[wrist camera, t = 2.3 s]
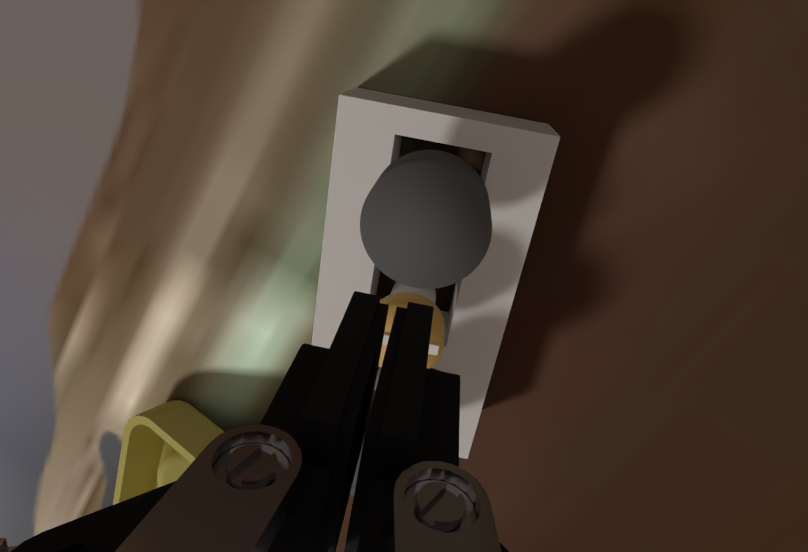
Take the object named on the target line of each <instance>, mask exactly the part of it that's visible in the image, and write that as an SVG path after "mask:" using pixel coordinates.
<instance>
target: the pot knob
mask: <svg viewBox="0 0 808 552" xmlns="http://www.w3.org/2000/svg"><path fill="white" fill-rule="evenodd" d="M408 302H413V303H418V304H423V305H428V306H433V307H434V310H433V318H432V327H431V335H430V343H429V352H428V360H427V368H428V369H430V368H431V367H432V366H434V365H435V363H436V362H437V361H438V360H439V358H440V356H441V354H442V351H443V344H444V332H445V323H444V318H443V315H442V313H441V311H440V310H439V308H438V307H437V306H436V305H435V302H436V291H435V289H420V288H413V287H409V286H406V285H403V284H401V283H398V282H396V283H395V284H394V286H393V288H392V291H391V294H390V295H388V296H386V297H384V298H383V299H381V300H380V303H383V304H388V305H389V308H388V314H387V320H386V326H385V331H384V337H383V343H382V348H381V354H380V360H379V365H378V366H379V367H380V368H381V367H382V363H383V359H384V355H385V351H386V348H387V344H388V340H389V336H390V332H391V328H392V324H393V320H394V316H395V312H396V308H397V306H398V307H403V308H407V306H408Z"/></svg>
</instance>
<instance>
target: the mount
mask: <svg viewBox="0 0 808 552" xmlns="http://www.w3.org/2000/svg"><path fill="white" fill-rule="evenodd" d="M402 136H406V137H411V138H417V139H422V140H427V141H432V142H437V143H443V144H448V145H453V146H458V147H463V148H469V149H474V150H479V151H484V152H486V155H485V159H484V163H483V168H482V172H481V176H480V177H481V179H482V180H483V182H484V184H485V186H486V189H487V192H488V196H489V202H490V210H491V218H492V236H491V242H490V245H489V248H488V251H487V253H486V255H485V257H484V258H483V260H482V261H481V263H480V264H479V265H478V267H477V268H476V269H475V270H474V271H473V272H472V273H470V274H469V275H468V276H467V277H465V278H464V279H462V280H460V281H458V282H456V283H455V288H454V292H453V296H452V301H451V305H450V309H449V312H445V311H441V313H442V315H443V318H444V323H445V332H444V344H443V351H442V354H441V356H440V358H439V360H438V361H437V362H436V363H435V365H434V366H432V367H431V368H433V369H435V370H437V371H442V372H447V373H452V374H457V375H460V422H459V457H461V458H465V459H468V455H469V452H470V448H471V445H472V441H473V438H474V434H475V431H476V427H477V424H478V421H479V417H480V414H481V410H482V407H483V403H484V400H485V396H486V393H487V389H488V386H489V382H490V379H491V376H492V372H493V369H494V365H495V362H496V358H497V355H498V351H499V348H500V344H501V341H502V337H503V334H504V331H505V327H506V324H507V320H508V317H509V313H510V310H511V306H512V303H513V299H514V296H515V292H516V289H517V286H518V282H519V279H520V275H521V272H522V268H523V265H524V261H525V258H526V254H527V251H528V247H529V244H530V241H531V237H532V234H533V230H534V227H535V223H536V220H537V216H538V213H539V209H540V206H541V202H542V199H543V196H544V192H545V189H546V185H547V182H548V178H549V175H550V171H551V168H552V164H553V161H554V158H555V154H556V151H557V147H558V144H559V140H560V136H559V135H558V134H557V133H556V131H555V130H554V129H553V128H552V127H551V126H550V125H549V124H547V123H542V122H536V121H531V120H526V119H521V118H515V117H510V116H505V115H500V114H494V113H489V112H484V111H479V110H473V109H468V108H463V107H457V106H452V105H447V104H442V103H436V102H431V101H426V100H421V99H415V98H410V97H405V96H400V95H394V94H389V93H384V92H379V91H373V90H368V89H363V88H357V87H356V88H354V89H351V90H349V91H347V92H344V93H342V94H339V100H338V109H337V119H336V128H335V137H334V146H333V155H332V164H331V173H330V182H329V191H328V200H327V209H326V218H325V228H324V237H323V246H322V255H321V264H320V273H319V282H318V291H317V300H316V309H315V318H314V327H313V337H312V345H314V346H319V347H324V348H329V349H330V346H331V344H332V342H333V339H334V337H335V335H336V332H337V330H338V328H339V325H340V323H341V321H342V319H343V316H344V314H345V312H346V309H347V307H348V305H349V302H350V300H351V298H352V295H353V293H354V291H357V292H362V293H367V294H372V295H376V294H377V288H378V282H379V276H380V270H379V269H378V268H377V267H376V265H375V264H374V263H373V262H372V260H371V259H370V257H369V256H368V254H367V252H366V250H365V248H364V245H363V242H362V238H361V233H360V216H361V211H362V207H363V204H364V202H365V199H366V197H367V196H368V194H369V192H370V190H371V189H372V187H373V186H374V184H375V183H376V181H377V180H378V178H379V177H380V175H381V174H382V173H383V171H384V170H385V169H386V168H387V167H388V166H389V165H390V164H391V163H393V162H394V161H395V160H397V159H398V158H399V154H400V148H401V142H402ZM381 299H382V298H380V300H381Z"/></svg>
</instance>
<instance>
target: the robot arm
mask: <svg viewBox="0 0 808 552" xmlns="http://www.w3.org/2000/svg"><path fill="white" fill-rule="evenodd" d="M388 308H389V305H388V304H383V303H380V296H377V295H372V294H367V293H362V292H357V291H354V293H353V295H352V298H351V300H350V302H349V305H348V307H347V309H346V312H345V314H344V316H343V319H342V321H341V323H340V325H339V328H338V330H337V332H336V335H335V337H334V339H333V342H332V344H331V346H330V349H329V348H324V347H319V346H314V345H309V344H303V345H302V346H301V348H300V349H299V351H298V353H297V355H296V357H295V359H294V361H293V362H292V364H291V366H290V368H289V370H288V372H287V374H286V376H285V378H284V380H283V382H282V383H281V385H280V387H279V389H278V391H277V393H276V395H275V397H274V399H273V401H272V403H271V404H270V406H269V408H268V410H267V412H266V414H265V416H264V418H263V420H262V422H261V423H260V425H244V426H240V427H235V428H232V429H230V430H228V431H226V432H224V433H222V434H220V435H218V436H217V437H216V438H215V439H214V440H212V441H211V442H210V443H209V444H208V445H207V446H206V447H205V448H204V450H203V451H202V452H201V453H200V454H199V455H198V457H197V458H196V459H195V460H194V461H193V462H192V463H191V465H190V466H189V467H188V468H187V469H186V470H185V472H184V473H183V474H182V475H181V476H180V477H179V478H178V480H177V481H174V482H172V483H169V484H166V485H164V486H161V487H159V488H156V489H153V490H151V491H148V492H146V493H143V494H140V495H138V496H135V497H133V498H130V499H128V500H125V501H122V502H120V503H117V504H115V505H112V506H109V507H107V508H104V509H102V510H99V511H96V512H94V513H91V514H89V515H86V516H83V517H81V518H78V519H76V520H73V521H70V522H68V523H65V524H63V525H60V526H57V527H55V528H52V529H50V530H47V531H44V532H42V533H40V534H38V535H36V536H34V537H32V538H30V539H28V540H26V541H24V542H23V543H21V544H20V545H19V546H11V547H8V546H7V542H6V539H5V538H0V552H335V551H336V547H337V543H338V539H339V535H340V531H341V527H342V523H343V519H344V515H345V511H346V507H347V503H348V499H349V495H350V491H351V487H352V483H353V480H354V476H355V472H356V468H357V464H358V460H359V456H360V452H361V448H362V453H361V459H360V465H359V470H358V476H357V482H356V488H355V493H354V499H353V505H352V511H351V516H350V522H349V528H348V533H347V539H346V545H345V551H344V552H508V551H507V549H506V548H505V547H504V546H503V545H502V544H501V543H500V542H499V538H498V534H497V529H496V525H495V521H494V516H493V512H492V507H491V503H490V500H489V498H488V495H487V493H486V490H485V489H484V488H483V486H482V485H481V484H480V483H479V481H478V480H477V479H476V478H475V477H473V476H472V475H471V474H470V473H468V472H467V471H466V470H464V469H462V468H460V467H459V422H460V375H457V374H452V373H447V372H442V371H437V370H433V369H428V368H427V360H428V352H429V343H430V335H431V327H432V318H433V310H434V307H433V306H428V305H423V304H418V303H413V302H408V306H407V308H403V307H398V306H397V308H396V312H395V316H394V320H393V324H392V328H391V332H390V336H389V340H388V344H387V348H386V351H385V355H384V359H383V363H382V367H381V371H380V375H379V379H378V383H377V387H376V391H375V395H374V399H373V394H374V388H375V382H376V377H377V371H378V365H379V360H380V354H381V348H382V343H383V337H384V331H385V326H386V320H387V314H388ZM372 399H373V403H372ZM371 405H372V407H371ZM370 410H371V411H370ZM364 436H365V437H364ZM363 440H364V442H363ZM362 444H363V447H362Z"/></svg>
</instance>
